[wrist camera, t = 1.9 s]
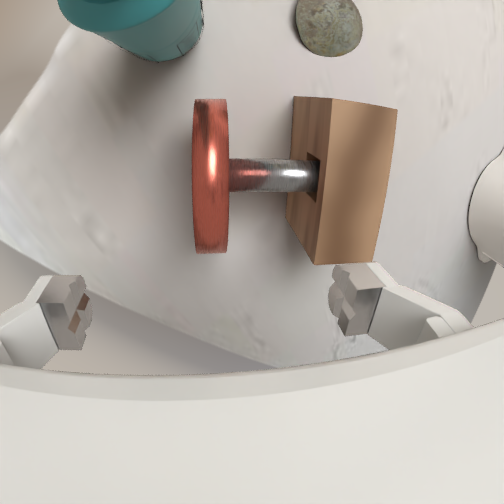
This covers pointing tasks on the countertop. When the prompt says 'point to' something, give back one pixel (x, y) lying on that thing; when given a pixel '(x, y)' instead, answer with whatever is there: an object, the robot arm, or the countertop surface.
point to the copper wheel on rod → (232, 175)
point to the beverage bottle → (140, 24)
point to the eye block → (341, 177)
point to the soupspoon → (329, 26)
